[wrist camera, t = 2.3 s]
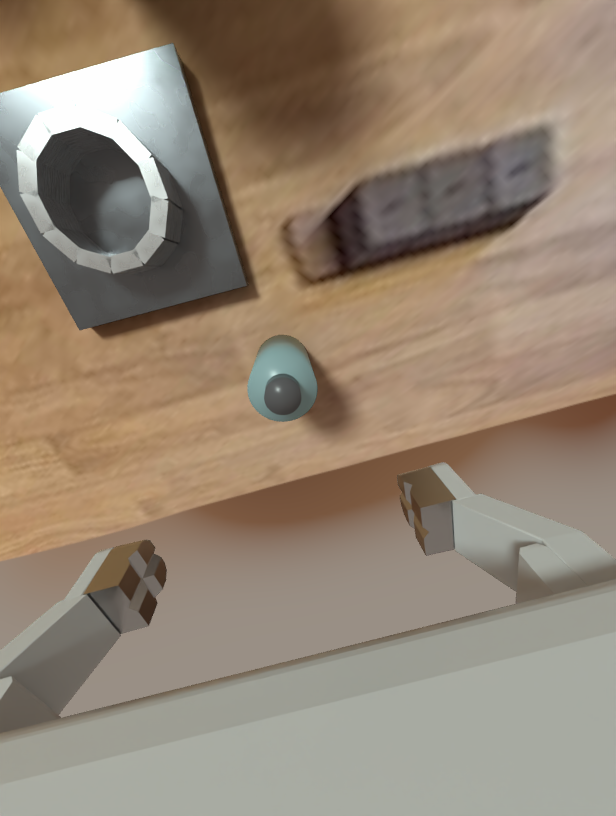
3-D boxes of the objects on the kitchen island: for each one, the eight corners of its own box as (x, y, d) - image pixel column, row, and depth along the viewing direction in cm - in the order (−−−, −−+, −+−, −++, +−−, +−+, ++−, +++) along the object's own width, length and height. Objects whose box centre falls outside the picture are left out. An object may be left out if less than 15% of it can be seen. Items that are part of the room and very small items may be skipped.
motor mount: (180, 59, 19) (153, 0, 15) (248, 285, 25) (242, 286, 21) (-22, 118, 20) (-102, 75, 16) (90, 327, 25) (53, 337, 21)
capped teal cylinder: (301, 329, 27) (310, 353, 18) (313, 378, 29) (326, 421, 20) (249, 342, 27) (234, 372, 18) (265, 390, 29) (258, 438, 20)
